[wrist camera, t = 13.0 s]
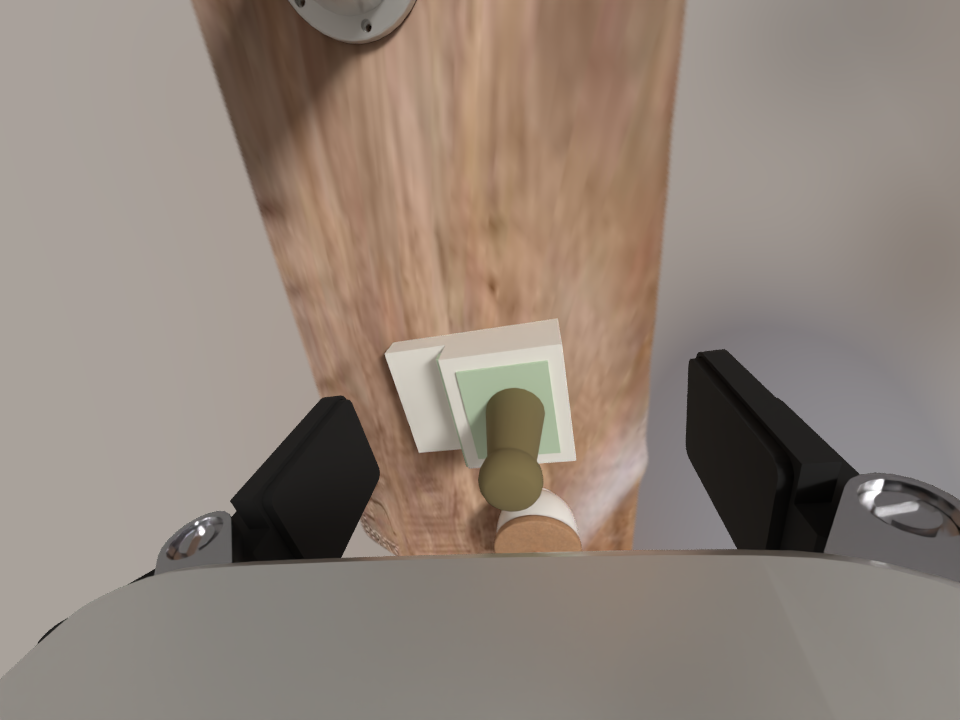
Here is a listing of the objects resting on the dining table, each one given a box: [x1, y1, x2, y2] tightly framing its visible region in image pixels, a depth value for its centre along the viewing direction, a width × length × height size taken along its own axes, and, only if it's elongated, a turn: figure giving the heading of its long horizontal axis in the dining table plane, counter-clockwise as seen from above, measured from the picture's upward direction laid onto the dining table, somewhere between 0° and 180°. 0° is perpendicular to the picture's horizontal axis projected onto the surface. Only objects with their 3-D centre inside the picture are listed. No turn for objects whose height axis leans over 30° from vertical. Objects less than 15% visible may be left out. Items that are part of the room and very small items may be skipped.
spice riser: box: [385, 318, 576, 468], centre depth 43 cm, size 14×19×7 cm
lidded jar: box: [494, 488, 582, 553], centre depth 49 cm, size 11×11×9 cm
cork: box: [478, 388, 545, 512], centre depth 34 cm, size 6×6×11 cm
